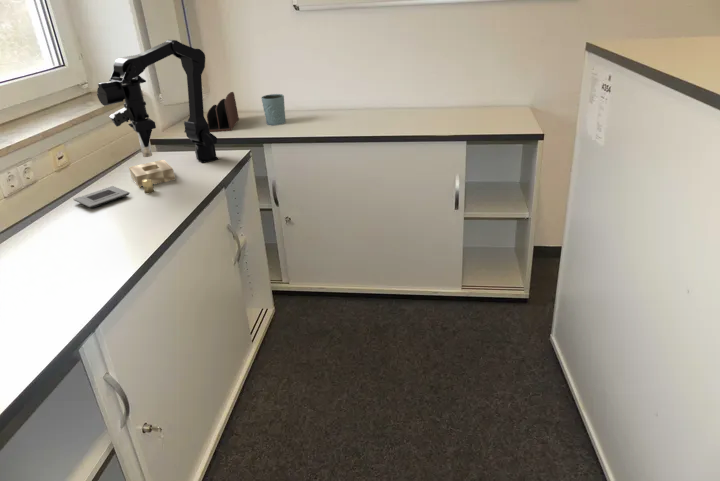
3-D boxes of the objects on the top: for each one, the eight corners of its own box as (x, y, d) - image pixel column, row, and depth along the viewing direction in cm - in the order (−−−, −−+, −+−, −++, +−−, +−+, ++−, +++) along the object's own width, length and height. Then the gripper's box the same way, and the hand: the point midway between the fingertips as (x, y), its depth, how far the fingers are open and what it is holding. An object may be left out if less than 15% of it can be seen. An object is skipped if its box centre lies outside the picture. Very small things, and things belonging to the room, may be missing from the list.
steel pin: (151, 153, 185) (144, 125, 180) (153, 155, 183) (146, 126, 178) (142, 155, 184) (135, 126, 179) (144, 157, 181) (136, 128, 177)
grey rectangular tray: (114, 191, 179) (112, 185, 178) (131, 198, 173) (129, 191, 172) (75, 205, 170) (73, 198, 169) (91, 212, 164) (89, 205, 163)
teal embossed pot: (277, 126, 240) (273, 99, 234) (260, 124, 244) (256, 97, 239) (291, 121, 247) (288, 94, 242) (274, 119, 252) (271, 93, 247)
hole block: (166, 170, 194) (163, 159, 192) (175, 179, 185) (172, 168, 183) (131, 177, 189) (128, 167, 187) (139, 187, 180) (136, 176, 178)
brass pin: (153, 189, 178) (150, 177, 176) (155, 192, 176) (152, 180, 174) (143, 191, 176) (140, 180, 175) (145, 194, 174) (142, 182, 172)
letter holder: (239, 119, 255) (234, 89, 249) (231, 131, 237) (226, 99, 231) (218, 120, 255) (212, 90, 248) (208, 132, 237) (202, 100, 231)
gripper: (102, 98, 178) (115, 144, 185) (113, 108, 164) (126, 157, 171) (137, 92, 183) (148, 137, 190) (150, 102, 169) (161, 150, 176)
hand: (145, 145), depth 182 cm, fingers closed on steel pin, 3 cm apart
